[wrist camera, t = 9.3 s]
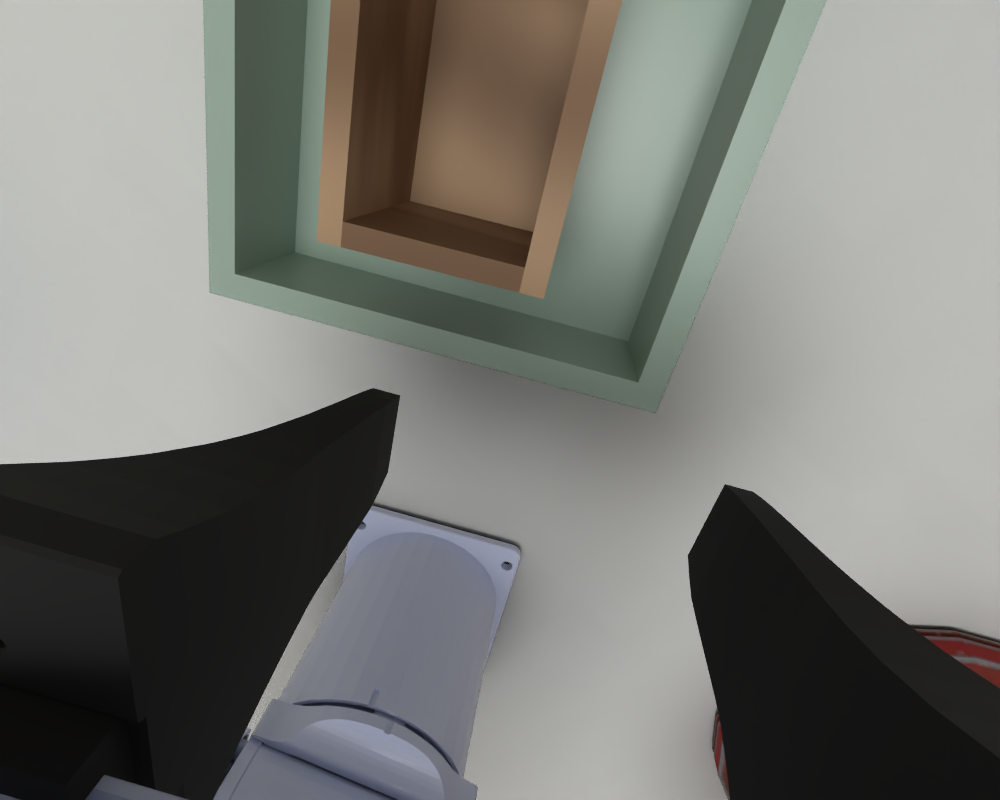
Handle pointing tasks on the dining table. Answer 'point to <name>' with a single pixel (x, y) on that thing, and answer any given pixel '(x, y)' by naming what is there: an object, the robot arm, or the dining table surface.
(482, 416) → the dining table surface
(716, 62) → the sage crate
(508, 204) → the walnut crate
